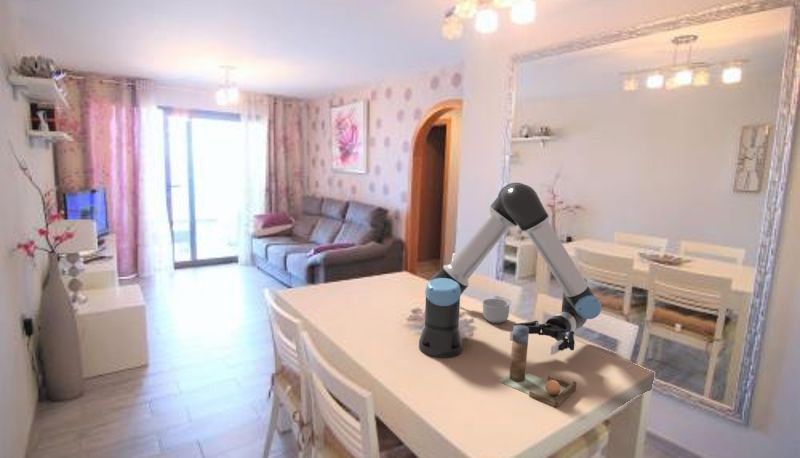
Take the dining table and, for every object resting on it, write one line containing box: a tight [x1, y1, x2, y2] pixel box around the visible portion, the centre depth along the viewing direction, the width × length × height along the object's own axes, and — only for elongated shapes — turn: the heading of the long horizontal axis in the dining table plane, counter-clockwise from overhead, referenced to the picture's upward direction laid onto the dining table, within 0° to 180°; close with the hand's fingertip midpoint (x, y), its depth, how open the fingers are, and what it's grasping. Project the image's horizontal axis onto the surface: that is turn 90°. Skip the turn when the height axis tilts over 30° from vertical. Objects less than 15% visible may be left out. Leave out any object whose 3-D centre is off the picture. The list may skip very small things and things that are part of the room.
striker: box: [509, 325, 530, 382], centre depth 124 cm, size 4×4×16 cm
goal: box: [498, 371, 578, 409], centre depth 121 cm, size 18×13×2 cm
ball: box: [545, 380, 561, 395], centre depth 116 cm, size 4×4×4 cm
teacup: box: [482, 297, 510, 324], centre depth 173 cm, size 14×11×8 cm
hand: (531, 343), depth 128 cm, fingers open, 13 cm apart
